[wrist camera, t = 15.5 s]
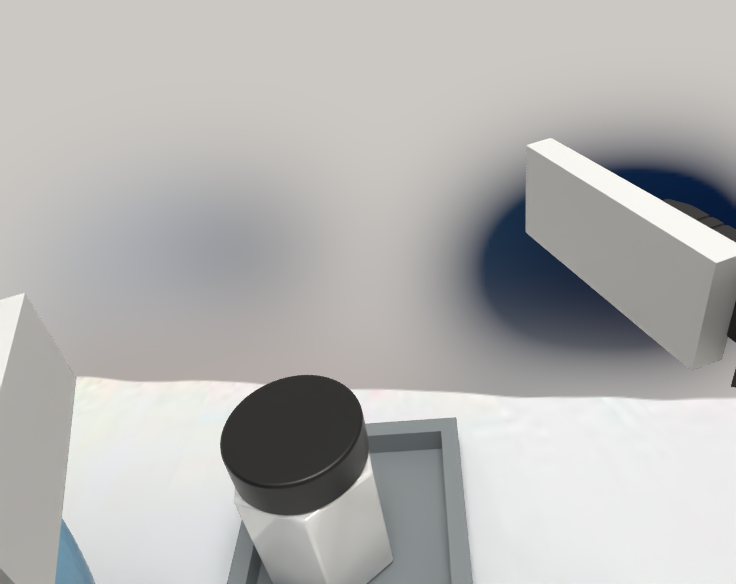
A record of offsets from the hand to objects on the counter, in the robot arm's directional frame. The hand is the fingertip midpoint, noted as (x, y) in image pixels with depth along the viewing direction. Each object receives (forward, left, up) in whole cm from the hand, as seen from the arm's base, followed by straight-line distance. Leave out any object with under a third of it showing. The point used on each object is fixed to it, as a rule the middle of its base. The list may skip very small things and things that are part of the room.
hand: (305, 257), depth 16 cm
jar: (-6, +9, -29) cm, 31 cm away
